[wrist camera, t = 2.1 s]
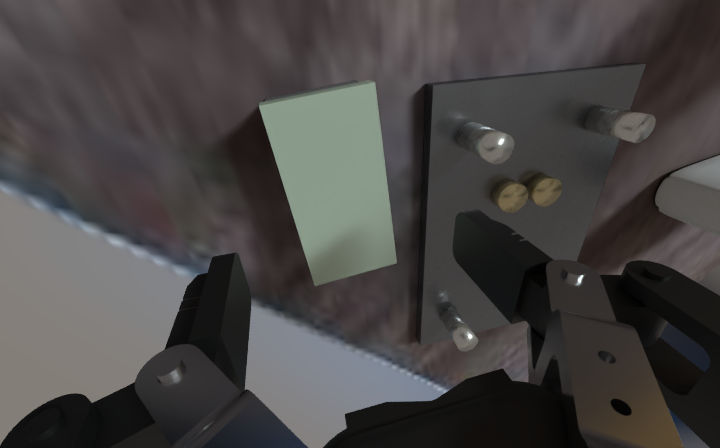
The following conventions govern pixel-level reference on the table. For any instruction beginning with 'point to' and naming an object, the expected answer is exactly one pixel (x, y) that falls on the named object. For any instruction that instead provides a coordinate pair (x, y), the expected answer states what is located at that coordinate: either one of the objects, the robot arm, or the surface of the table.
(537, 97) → the plate
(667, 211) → the photo printer
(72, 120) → the table surface
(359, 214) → the grey green block
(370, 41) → the table surface
